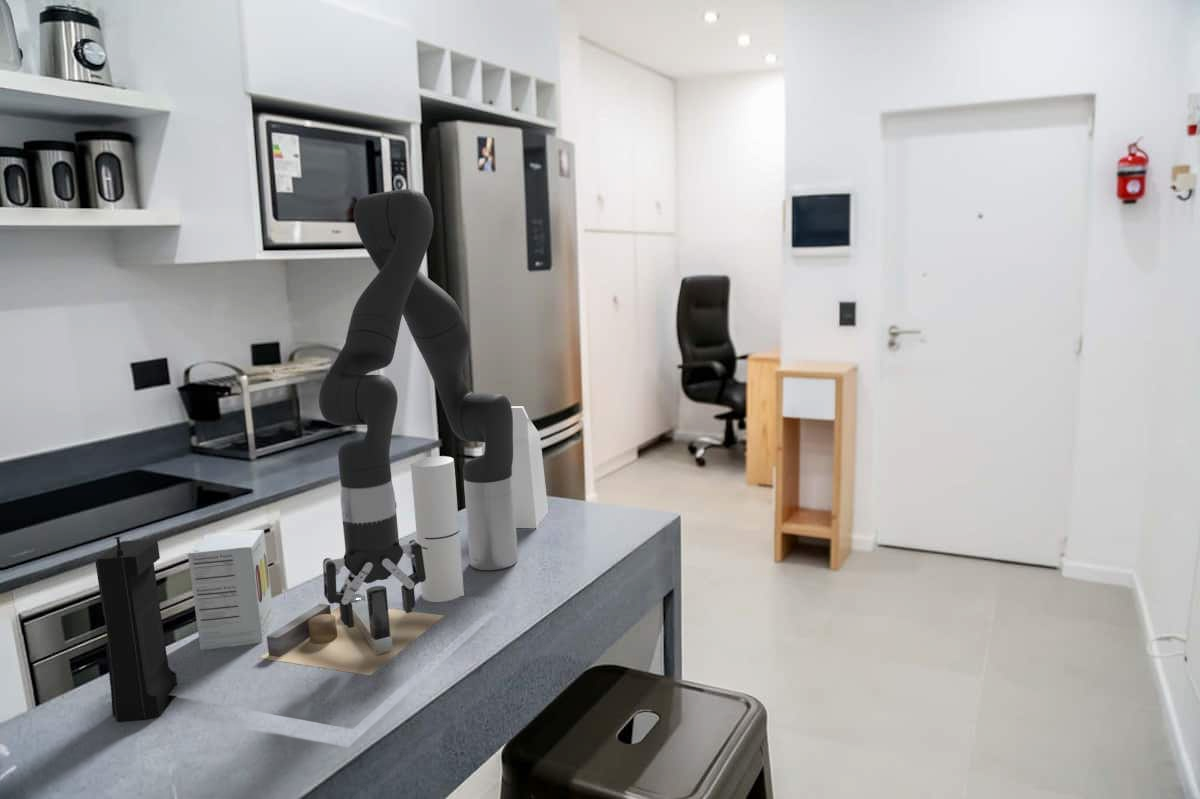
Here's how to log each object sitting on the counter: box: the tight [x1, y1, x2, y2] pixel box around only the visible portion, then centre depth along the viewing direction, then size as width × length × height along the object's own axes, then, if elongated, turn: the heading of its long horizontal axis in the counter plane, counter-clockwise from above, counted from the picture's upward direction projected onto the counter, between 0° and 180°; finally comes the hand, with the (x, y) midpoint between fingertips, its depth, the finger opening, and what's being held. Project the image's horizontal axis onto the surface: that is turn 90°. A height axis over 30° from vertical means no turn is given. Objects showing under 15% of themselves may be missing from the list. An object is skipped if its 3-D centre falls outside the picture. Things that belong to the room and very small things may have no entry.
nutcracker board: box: [259, 603, 445, 676], centre depth 128 cm, size 20×20×4 cm
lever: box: [350, 585, 393, 654], centre depth 128 cm, size 19×4×9 cm, turn 30°
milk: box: [481, 405, 549, 529], centre depth 184 cm, size 12×12×26 cm
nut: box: [308, 614, 337, 644], centre depth 127 cm, size 4×4×3 cm
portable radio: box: [95, 536, 178, 722], centre depth 111 cm, size 8×6×25 cm
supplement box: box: [187, 529, 275, 650], centre depth 130 cm, size 10×9×17 cm
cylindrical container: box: [410, 455, 465, 603], centre depth 141 cm, size 7×7×25 cm
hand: (379, 618), depth 121 cm, fingers open, 8 cm apart
